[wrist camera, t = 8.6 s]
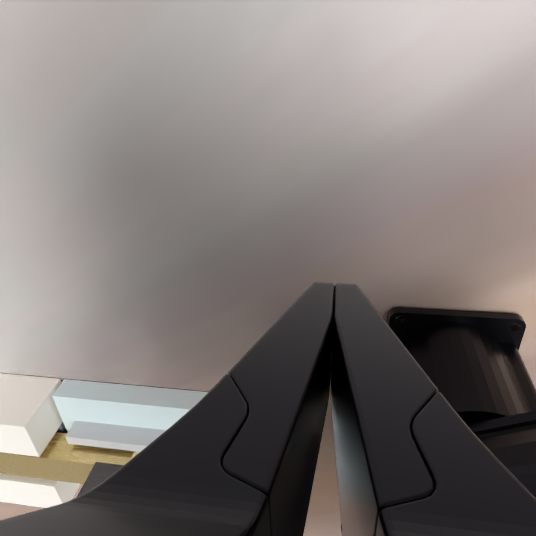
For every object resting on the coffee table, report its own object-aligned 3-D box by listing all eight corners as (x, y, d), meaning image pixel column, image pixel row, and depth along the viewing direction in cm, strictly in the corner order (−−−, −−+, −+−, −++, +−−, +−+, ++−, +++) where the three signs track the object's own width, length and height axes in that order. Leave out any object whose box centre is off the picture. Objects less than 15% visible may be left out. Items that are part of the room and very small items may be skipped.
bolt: (138, 438, 30) (107, 503, 26) (146, 466, 31) (118, 531, 27) (3, 423, 31) (-45, 483, 27) (17, 450, 33) (-26, 510, 29)
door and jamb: (298, 400, 28) (291, 456, 25) (299, 485, 33) (294, 542, 29) (-18, 371, 31) (-62, 417, 28) (24, 452, 36) (-9, 500, 33)
